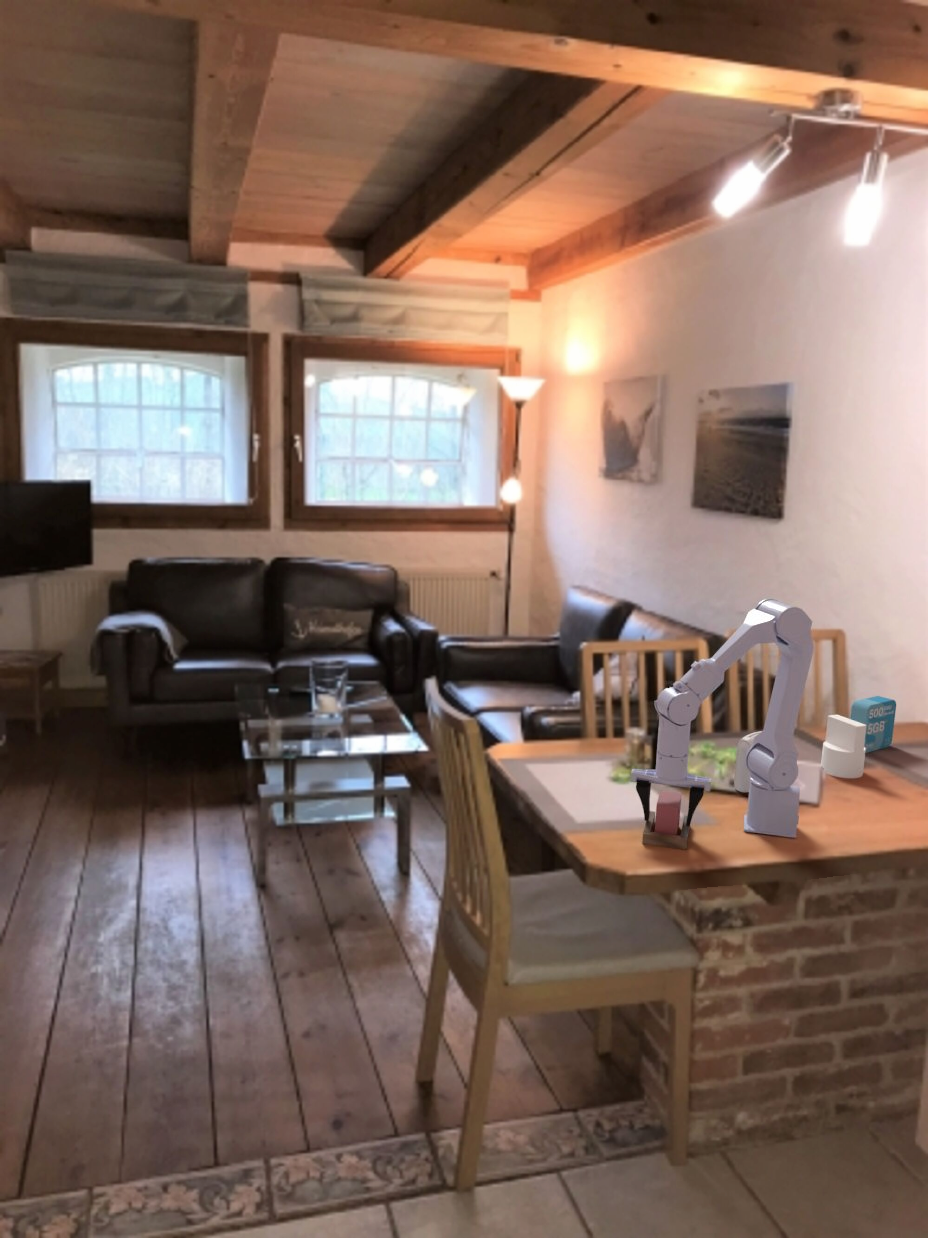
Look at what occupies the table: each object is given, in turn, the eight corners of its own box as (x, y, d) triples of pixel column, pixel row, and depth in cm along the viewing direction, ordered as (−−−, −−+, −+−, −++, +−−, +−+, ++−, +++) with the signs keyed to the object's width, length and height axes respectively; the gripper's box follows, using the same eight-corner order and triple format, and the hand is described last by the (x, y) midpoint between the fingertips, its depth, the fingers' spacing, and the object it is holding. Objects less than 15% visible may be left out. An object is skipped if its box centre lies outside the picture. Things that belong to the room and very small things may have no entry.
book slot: (689, 826, 193) (690, 816, 193) (685, 849, 183) (686, 839, 182) (648, 820, 196) (649, 811, 195) (642, 843, 185) (642, 833, 184)
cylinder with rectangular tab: (812, 767, 229) (817, 716, 227) (841, 762, 233) (846, 713, 231) (841, 780, 222) (847, 728, 219) (871, 775, 225) (877, 724, 223)
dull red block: (679, 827, 193) (681, 792, 192) (675, 843, 185) (678, 807, 184) (657, 824, 194) (660, 790, 193) (654, 840, 186) (656, 805, 185)
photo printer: (762, 780, 220) (767, 726, 218) (778, 786, 216) (783, 731, 214) (730, 788, 214) (735, 733, 212) (745, 795, 211) (750, 738, 208)
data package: (862, 754, 240) (868, 705, 238) (846, 749, 244) (851, 701, 241) (891, 746, 247) (897, 699, 244) (875, 741, 250) (880, 694, 248)
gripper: (713, 750, 188) (708, 819, 191) (635, 741, 192) (631, 809, 195) (712, 762, 181) (706, 833, 184) (631, 753, 185) (626, 822, 188)
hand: (667, 821), depth 189 cm, fingers open, 7 cm apart
